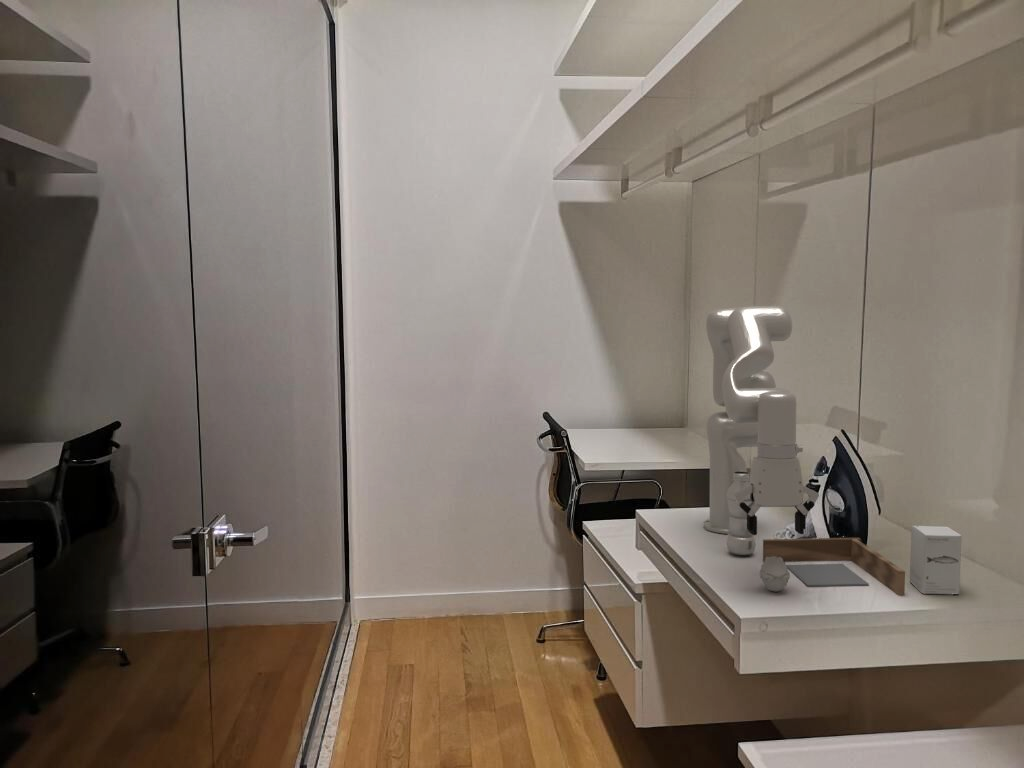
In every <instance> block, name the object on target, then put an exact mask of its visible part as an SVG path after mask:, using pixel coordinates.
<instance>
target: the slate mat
mask: <svg viewBox="0 0 1024 768" xmlns="http://www.w3.org/2000/svg"><path fill="white" fill-rule="evenodd" d="M785 565H786V566H787V568H788V571H789V572H790V573H792V574H793V575H794V576H795V577H796V578H798V580H799V581H801V583H803V584H804V585H805V586H806V587H807V588H810V587H812V588H814V587H815V588H817V587H818V588H819V587H826V588H827V587H861V586H863V587H866V586H869V585H870V583H869V582H868V581H866V580H865V579H863V578H862V577H861V576H859V575H858V574H857V573H855V572H854V571H853V570H852V569H850V568H849V567H847V566H846V565H845V564H844V563H819V564H817V563H815V564H813V563H812V564H810V563H809V564H785Z"/></svg>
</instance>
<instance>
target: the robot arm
mask: <svg viewBox="0 0 1024 768" xmlns="http://www.w3.org/2000/svg"><path fill="white" fill-rule="evenodd" d="M705 329H706V335H707V339H708V342H709V344H710V347H711V351H712V356H713V359H712V360H713V362H712V364H713V365H712V367H713V369H712V395H713V400H714V402H715V403H716V405H718V406H720V407H724V408H725V411H719V412H714V413H712V414H711V415H710V416H709V417H708V418H707V421H706V427H705V428H706V436H707V442H708V449H709V451H708V452H709V518H708V519H706V520H705V521H704V522H703V528H705V529H706V530H707V531H709V532H712V533H717V534H722V535H723V534H724V535H728V531H729V508H728V501H727V491H728V489H729V487H730V486H731V485H732V484H733V482H734V480H733V472H735V471H745V472H748V470H747V469H748V467H747V462H746V460H745V458H744V457H743V456H742V455H741V454H740V452H738V450H737V449H740V448H757V456H754V457H753V458H752V462H751V468H750V472H749V478H750V481H749V486H748V487H746V488H744V489H742V490H740V491H738V492H736V493H735V494H734V497H735V499H736V501H737V503H738V505H739V506H740V507H741V508H742V509H743V510H744V511H745V512H746V513H747V529H748V530H749V532H750V533H751V534H752V535H754V536H756V535H757V534H758V516H757V515H756V513H757V512H758V511H759V510H760V509H761V508H790V507H794V508H795V509H796V511H795V513H794V531H795V532H796V533H798V534H800V535H804V534H805V529H806V528H807V527H806V526H807V525H806V523H807V521H806V520H807V519H806V517H807V516H808V514H809V512H810V511H811V510H812V509H813V508H814V507H815V504H816V502H817V500H818V499H819V497H820V494H819V493H818V492H816V491H815V490H813V489H810V488H809V487H807V486H805V485H803V483H804V482H803V473H802V468H801V467H802V466H801V463H800V459H799V458H798V457H797V456H798V453H803V449H804V448H803V445H798V443H797V398H796V395H794V394H793V393H792V392H790V390H788V389H786V388H781V387H777V386H776V381H775V378H774V376H773V374H771V373H770V372H768V371H765V370H766V369H768V368H769V367H770V366H771V364H773V362H774V359H775V351H774V348H773V346H772V342H784V341H787V340H789V338H790V337H791V334H792V331H793V321H792V316H791V314H790V312H789V310H788V309H787V308H786V307H784V306H782V305H753V306H752V305H750V306H742V307H728V308H727V307H726V308H717V309H713V310H712V311H710V312H709V313H708V314H707V316H706V321H705ZM804 494H806V495H808V499H807V500H806V501H805V502H804ZM747 495H749V500H750V501H751V502H750V504H749V505H748V506H747V505H746V504H745V502H744V500H743V498H744V497H745V496H747ZM803 502H804V503H803Z"/></svg>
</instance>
